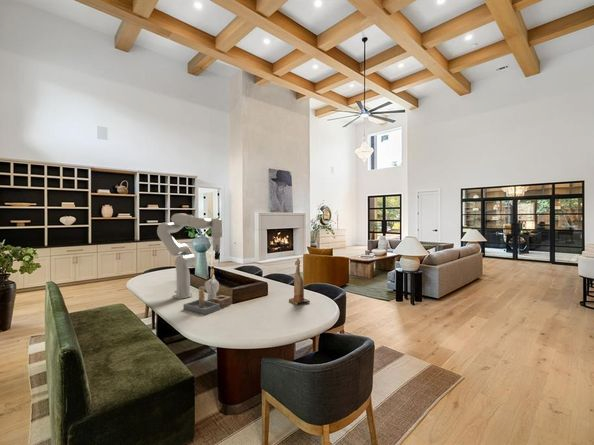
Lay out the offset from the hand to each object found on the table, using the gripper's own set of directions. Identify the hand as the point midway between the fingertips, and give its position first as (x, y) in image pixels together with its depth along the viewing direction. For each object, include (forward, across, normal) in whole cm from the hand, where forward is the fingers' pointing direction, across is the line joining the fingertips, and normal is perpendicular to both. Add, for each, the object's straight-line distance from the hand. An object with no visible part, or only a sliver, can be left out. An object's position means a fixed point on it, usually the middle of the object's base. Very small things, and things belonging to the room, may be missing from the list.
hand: (217, 258), depth 213 cm
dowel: (+30, +21, -10) cm, 37 cm away
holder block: (+30, +14, +3) cm, 34 cm away
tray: (+30, +21, -10) cm, 38 cm away
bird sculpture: (+31, +23, +57) cm, 68 cm away
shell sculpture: (+31, +1, -4) cm, 31 cm away
